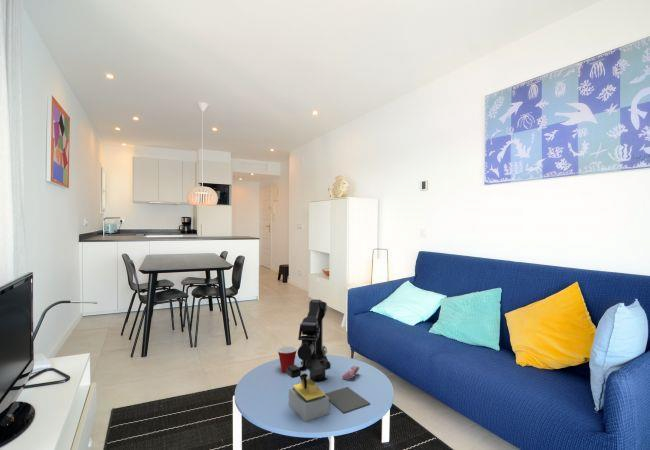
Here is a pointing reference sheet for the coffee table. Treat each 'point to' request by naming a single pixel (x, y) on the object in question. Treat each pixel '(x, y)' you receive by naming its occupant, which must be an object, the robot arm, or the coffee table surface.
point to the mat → (346, 400)
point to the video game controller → (351, 372)
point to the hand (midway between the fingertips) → (308, 387)
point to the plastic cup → (286, 357)
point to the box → (308, 405)
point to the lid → (309, 390)
